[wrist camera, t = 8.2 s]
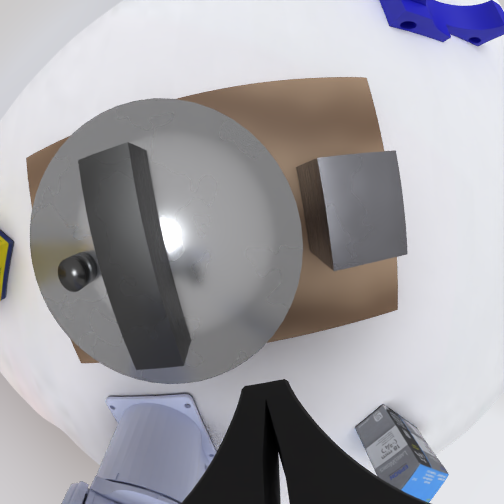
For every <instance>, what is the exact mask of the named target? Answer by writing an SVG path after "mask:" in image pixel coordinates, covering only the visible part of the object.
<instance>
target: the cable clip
mask: <svg viewBox="0 0 504 504" xmlns="http://www.w3.org/2000/svg"><path fill="white" fill-rule="evenodd" d="M379 1H380V3H381V5H382V8H383V10H384V13H385V15H386V18H387V21H388V23H389V26H391V27H395V28H399V29H403V30H406V31H410V32H413V33H417V34H420V35H423V36H427V37H430V38H433V39H436V40H438V41H441V42H444V41H446V40H447V39H449V38H451V36H450V34H451V35H454V36H456V37H459V38H461V39H463V40H465V41H468V42H470V43H472V44H474V45H476V46H479V45H481V44H483V43H486V42H488V41H490V40H492V39H494V38H497V37H499V36H501V35H504V12H503V10H502V8H501V6H500V5H499V4H497V3H496V2H494V1H493V0H490V1H488V2H486V3H482V4H478V5H472V6H456V5H449V4H444V3H441V2H438V1H435V0H379Z"/></svg>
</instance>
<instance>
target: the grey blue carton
mask: <svg viewBox="0 0 504 504" xmlns="http://www.w3.org/2000/svg"><path fill="white" fill-rule="evenodd" d="M355 429H356V431H357V433H358V435H359V437H360V439H361V441H362V444H363V446H364V448H365V450H366V452H367V454H368V456H369V459H370V461H371V463H372V465H373V467H374V469H375V472H376V474H377V476H378V477H379V478H381V479H382V480H384V481H386V482H388V483H389V484H391V485H393V486H395V487H396V488H398V489H400V490H402V491H404V492H405V493H407V494H410V495H412V496H414V497H416V498H419V499H421V500H423V501H425V502H428V503H429V502H430V501H431V499H432V498H433V497H434V495H435V494H436V492H437V491H438V490H439V488H440V487H441V485H442V484H443V483H444V481H445V480H446V478H447V477H448V472H447V471H446V469H445V468H444V466H443V465H442V464H441V462H440V461H439V460H438V458H437V457H436V455H435V454H434V452H433V451H432V450H431V448H430V447H429V445H428V444H427V442H426V441H425V440H424V438H423V437H422V435H421V433H420V432H419V430H418V429H417V428H416V427H415V426H413V425H412V424H410V423H409V422H408V421H406V420H405V419H403V418H402V417H401V416H399V415H398V414H396V413H395V412H394V411H392V410H391V409H389V408H388V407H386V406H385V405H381V406H380V407H378V408H377V409H376V410H375V411H374V412H373V413H371V414H370V415H369V416H368V417H367V418H366V419H364V420H363V421H362V422H361V423H359V424H358V425H357V426H356V427H355Z"/></svg>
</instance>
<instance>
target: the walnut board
mask: <svg viewBox="0 0 504 504" xmlns="http://www.w3.org/2000/svg"><path fill="white" fill-rule="evenodd" d="M177 100H183V101H189V102H194V103H197V104H200V105H203V106H206V107H209V108H212V109H214V110H216V111H218V112H220V113H222V114H224V115H226V116H228V117H230V118H231V119H233V120H234V121H236V122H237V123H239V124H240V125H241V126H243V127H244V128H245V129H247V130H248V131H249V132H250V133H252V134H253V135H254V136H255V137H256V138H257V139H258V140H259V141H260V142H261V143H262V144H263V145H264V146H265V147H266V149H267V150H268V151H269V153H270V154H271V155H272V157H273V158H274V159H275V161H276V162H277V163H278V165H279V167H280V168H281V170H282V172H283V174H284V176H285V177H286V179H287V181H288V183H289V185H290V188H291V191H292V193H293V196H294V198H295V201H296V204H297V208H298V213H299V217H300V221H301V228H302V240H303V254H302V268H301V273H300V278H299V283H298V287H297V290H296V293H295V296H294V299H293V302H292V304H291V306H290V308H289V310H288V312H287V314H286V316H285V318H284V320H283V322H282V323H281V325H280V326H279V328H278V329H277V331H276V332H275V333H274V335H273V336H272V337H271V338H270V339H269V340H268V342H273V341H278V340H283V339H288V338H293V337H297V336H302V335H306V334H310V333H315V332H319V331H323V330H327V329H331V328H335V327H339V326H343V325H347V324H350V323H354V322H358V321H361V320H365V319H368V318H372V317H375V316H378V315H382V314H385V313H388V312H392V311H395V310H398V280H397V257H394V258H389V259H385V260H381V261H377V262H373V263H368V264H364V265H360V266H355V267H351V268H347V269H342V270H338V271H333V270H332V269H331V268H329V267H328V266H327V265H326V264H325V263H323V262H322V261H321V260H320V259H319V258H318V257H316V256H315V255H314V254H313V253H312V252H310V250H309V243H308V236H307V229H306V223H305V217H304V210H303V204H302V198H301V193H300V187H299V181H298V176H297V170H296V167H297V166H299V165H302V164H304V163H306V162H309V161H311V160H313V159H316V158H320V157H329V156H337V155H347V154H357V153H369V152H382V151H384V147H383V142H382V138H381V133H380V128H379V124H378V119H377V115H376V111H375V107H374V103H373V99H372V96H371V92H370V89H369V85H368V82H367V78H362V77H328V78H305V79H291V80H280V81H271V82H262V83H255V84H248V85H241V86H235V87H229V88H223V89H218V90H213V91H208V92H203V93H199V94H194V95H190V96H186V97H182V98H178V99H177ZM69 137H70V136H69ZM69 137H67V138H65V139H62V140H60V141H58V142H56V143H54V144H52V145H50V146H48V147H46V148H44V149H42V150H40V151H38V152H36V153H34V154H33V155H31V156H29V157H27V158H26V161H27V172H28V182H29V190H30V197H31V204H32V209H33V204H34V200H35V196H36V193H37V190H38V187H39V184H40V182H41V179H42V177H43V175H44V173H45V171H46V169H47V167H48V165H49V163H50V162H51V160H52V159H53V157H54V156H55V154H56V153H57V151H58V150H59V148H60V147H61V146H62V145H63V144H64V143H65V142H66V140H67V139H68V138H69ZM71 341H72V340H71ZM268 342H267V343H268ZM72 344H73V346H74V348H75V351H76V353H77V355H78V357H79V359H80V361H81V363H100V362H98V361H97V360H95V359H93V358H92V357H91V356H89V355H88V354H87V353H86V352H84V351H83V350H82V349H81V348H80V347H79V346H77V345H76V344H75V343H74V342H73V341H72Z"/></svg>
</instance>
